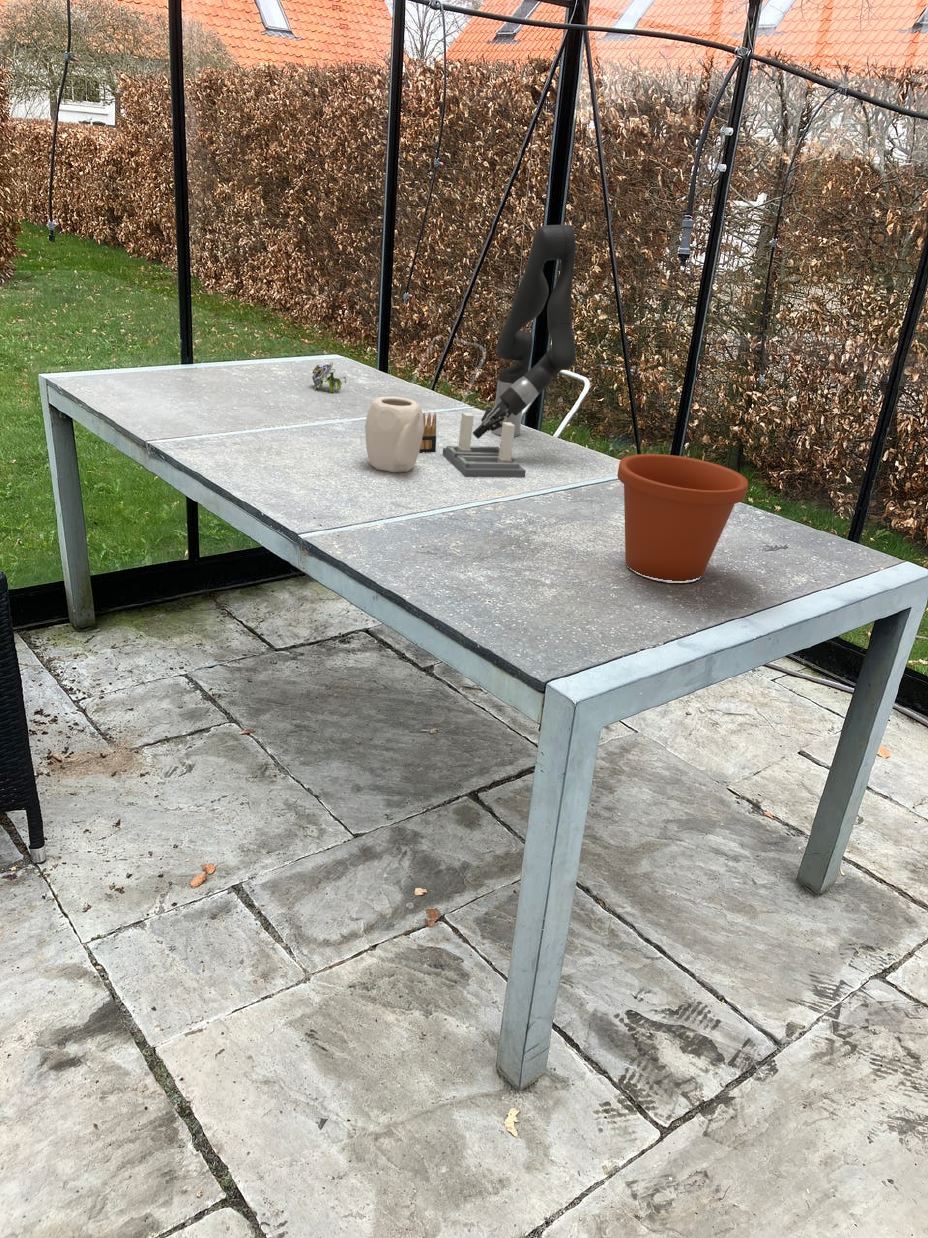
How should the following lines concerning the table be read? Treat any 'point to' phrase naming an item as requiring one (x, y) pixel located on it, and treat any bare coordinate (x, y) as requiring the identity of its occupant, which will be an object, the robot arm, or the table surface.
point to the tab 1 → (465, 432)
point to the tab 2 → (506, 443)
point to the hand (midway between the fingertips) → (475, 435)
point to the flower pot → (675, 512)
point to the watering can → (394, 433)
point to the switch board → (482, 462)
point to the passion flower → (326, 377)
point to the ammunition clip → (429, 435)
